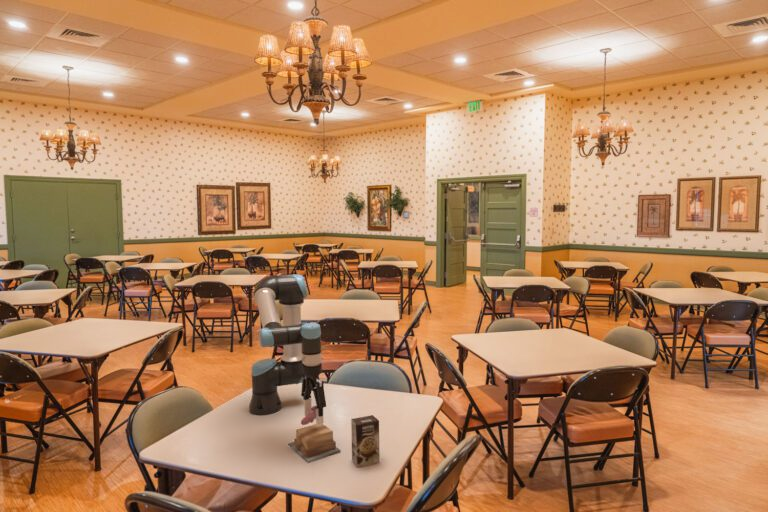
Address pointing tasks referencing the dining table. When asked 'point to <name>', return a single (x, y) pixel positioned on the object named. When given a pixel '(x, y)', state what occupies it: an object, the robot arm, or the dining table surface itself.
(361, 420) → the coffee box
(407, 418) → the dining table surface
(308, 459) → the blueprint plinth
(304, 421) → the video game controller
